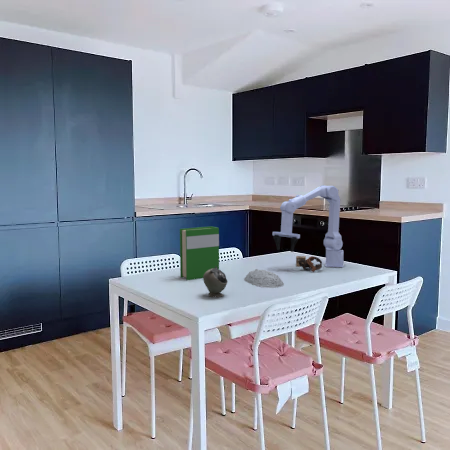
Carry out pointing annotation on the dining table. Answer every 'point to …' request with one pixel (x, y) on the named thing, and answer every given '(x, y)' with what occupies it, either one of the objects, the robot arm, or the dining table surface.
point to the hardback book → (198, 251)
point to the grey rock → (263, 279)
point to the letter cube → (299, 259)
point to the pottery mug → (310, 263)
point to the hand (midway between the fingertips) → (285, 250)
